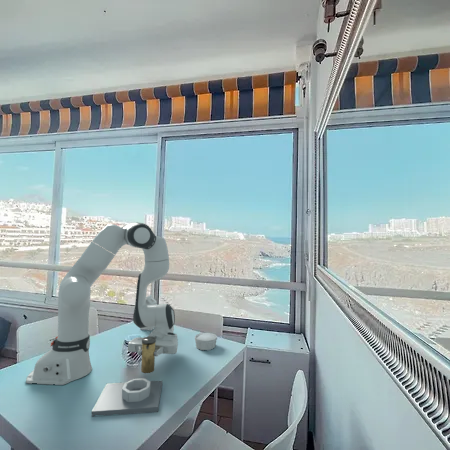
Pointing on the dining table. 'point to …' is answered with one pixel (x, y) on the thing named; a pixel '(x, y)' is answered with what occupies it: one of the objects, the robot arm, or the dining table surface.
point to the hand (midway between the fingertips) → (147, 353)
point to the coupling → (148, 354)
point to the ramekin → (205, 341)
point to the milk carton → (150, 301)
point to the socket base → (129, 397)
